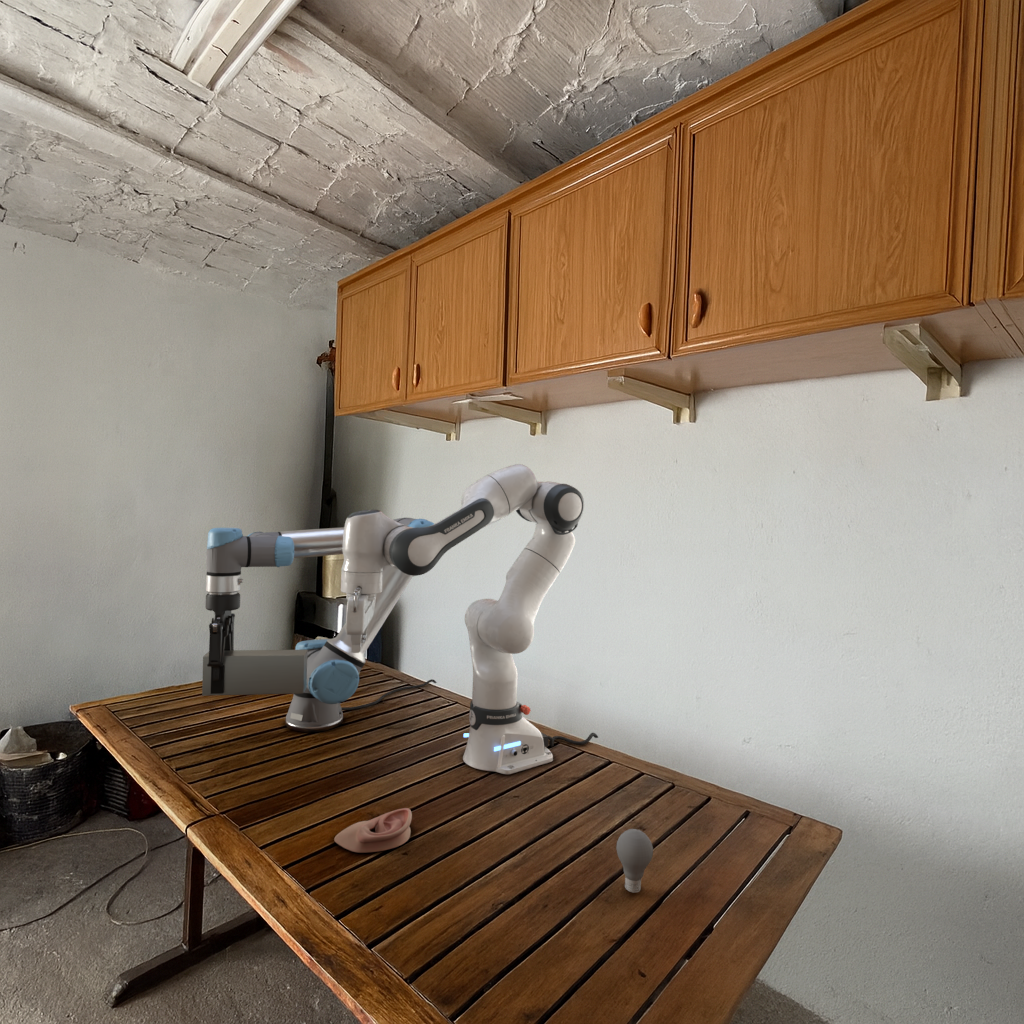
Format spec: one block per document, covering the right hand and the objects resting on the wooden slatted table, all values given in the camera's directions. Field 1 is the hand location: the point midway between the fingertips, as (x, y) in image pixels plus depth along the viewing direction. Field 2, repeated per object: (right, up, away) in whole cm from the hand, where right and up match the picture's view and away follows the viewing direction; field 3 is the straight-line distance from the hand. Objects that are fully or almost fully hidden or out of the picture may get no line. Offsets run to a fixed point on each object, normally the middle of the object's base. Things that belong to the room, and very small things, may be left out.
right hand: (359, 646), depth 138 cm
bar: (-28, -14, +14) cm, 35 cm away
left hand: (-36, -13, +13) cm, 41 cm away
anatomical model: (+7, -32, -20) cm, 38 cm away
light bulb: (+54, -34, -33) cm, 71 cm away
